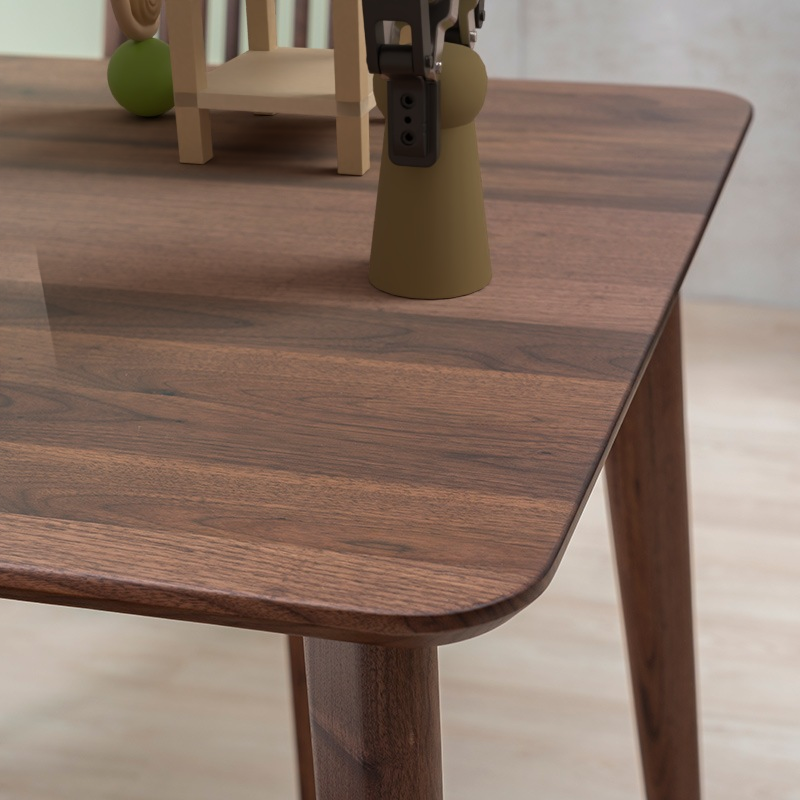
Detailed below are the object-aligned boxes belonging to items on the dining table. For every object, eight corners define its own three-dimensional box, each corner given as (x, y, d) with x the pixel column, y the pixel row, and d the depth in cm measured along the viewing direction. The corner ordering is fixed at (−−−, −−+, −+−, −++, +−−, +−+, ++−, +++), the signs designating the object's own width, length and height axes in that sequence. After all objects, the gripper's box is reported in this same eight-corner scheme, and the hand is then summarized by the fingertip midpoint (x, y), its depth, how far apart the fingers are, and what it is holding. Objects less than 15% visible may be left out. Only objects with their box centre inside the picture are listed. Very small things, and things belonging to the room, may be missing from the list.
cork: (466, 248, 64) (469, 28, 60) (511, 289, 59) (518, 52, 54) (353, 261, 63) (346, 37, 58) (389, 305, 58) (385, 63, 53)
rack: (179, 162, 79) (161, -38, 73) (260, 108, 91) (249, -68, 85) (362, 175, 76) (357, -33, 70) (421, 118, 88) (420, -64, 82)
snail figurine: (90, 125, 87) (68, -57, 82) (134, 103, 93) (115, -69, 87) (162, 130, 86) (143, -55, 80) (201, 108, 91) (187, -67, 86)
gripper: (389, -264, 58) (394, 105, 65) (280, -269, 45) (302, 187, 53) (551, -267, 56) (537, 113, 63) (484, -273, 43) (476, 200, 51)
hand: (430, 145), depth 58 cm, fingers closed on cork, 5 cm apart
